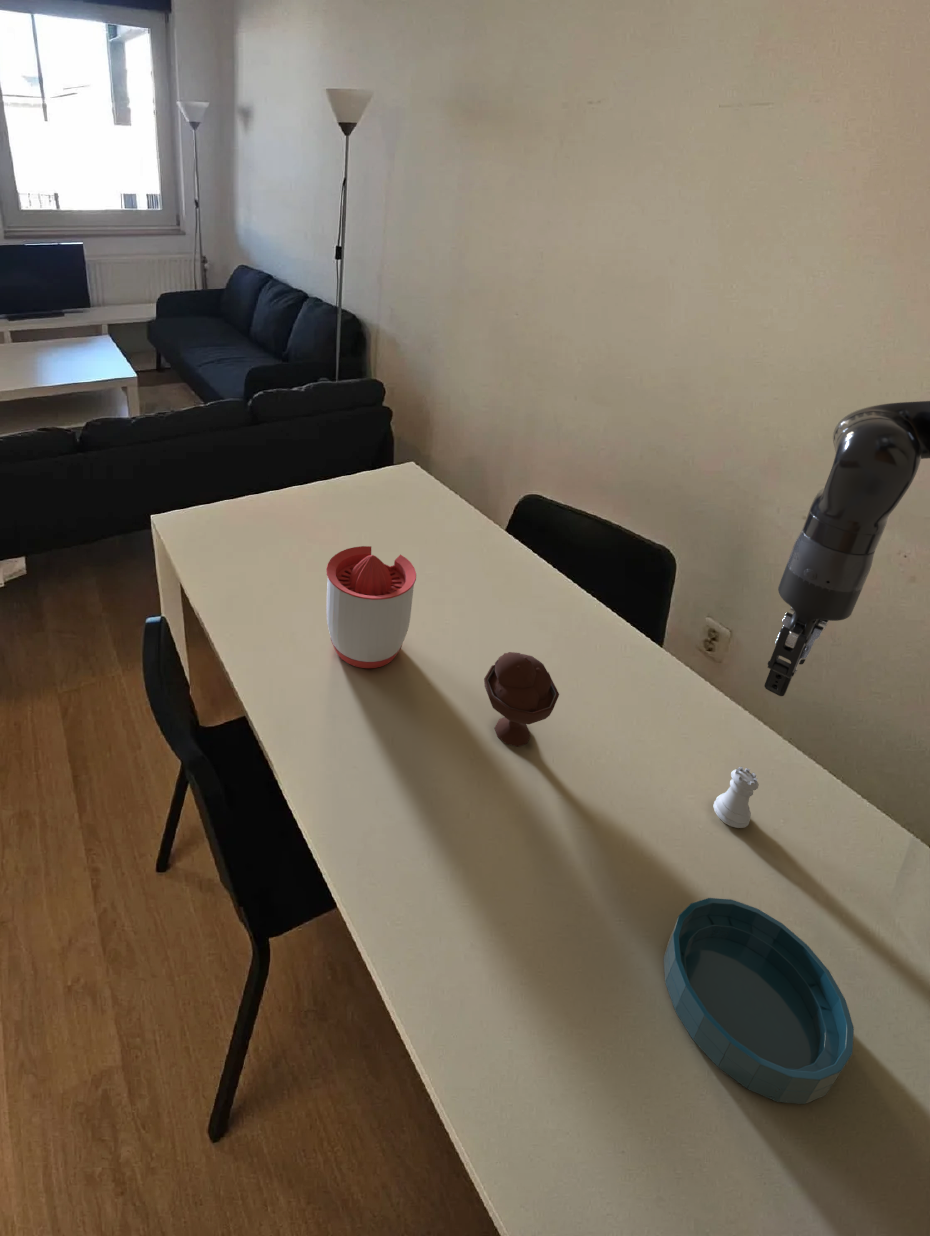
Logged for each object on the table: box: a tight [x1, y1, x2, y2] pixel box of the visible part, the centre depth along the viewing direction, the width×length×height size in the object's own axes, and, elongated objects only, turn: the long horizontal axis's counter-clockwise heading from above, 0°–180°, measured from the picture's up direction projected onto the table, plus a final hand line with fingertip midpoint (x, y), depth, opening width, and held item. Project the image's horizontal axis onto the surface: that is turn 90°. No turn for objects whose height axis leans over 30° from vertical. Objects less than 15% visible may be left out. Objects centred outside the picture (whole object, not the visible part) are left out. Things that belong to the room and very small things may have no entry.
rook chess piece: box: [712, 766, 760, 829], centre depth 89 cm, size 4×4×8 cm
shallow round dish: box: [663, 897, 855, 1105], centre depth 69 cm, size 16×16×5 cm
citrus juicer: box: [325, 545, 417, 669], centre depth 116 cm, size 16×17×20 cm
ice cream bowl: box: [483, 651, 560, 747], centre depth 100 cm, size 11×11×15 cm
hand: (784, 675), depth 84 cm, fingers open, 8 cm apart
